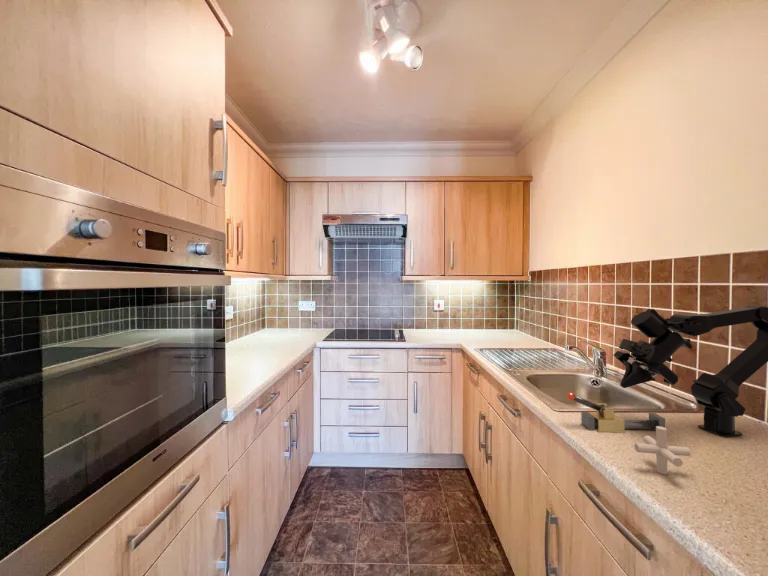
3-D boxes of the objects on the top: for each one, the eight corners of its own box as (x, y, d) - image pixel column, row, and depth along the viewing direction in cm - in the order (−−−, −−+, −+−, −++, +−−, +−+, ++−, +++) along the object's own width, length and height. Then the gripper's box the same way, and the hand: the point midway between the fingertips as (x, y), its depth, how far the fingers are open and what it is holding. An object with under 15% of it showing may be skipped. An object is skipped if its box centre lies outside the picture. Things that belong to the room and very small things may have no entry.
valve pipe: (652, 425, 93) (652, 403, 93) (667, 433, 88) (667, 411, 88) (580, 423, 96) (579, 402, 96) (590, 431, 90) (589, 409, 90)
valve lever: (608, 407, 93) (566, 389, 95) (614, 410, 91) (570, 392, 92) (605, 414, 93) (562, 397, 95) (610, 418, 91) (566, 400, 92)
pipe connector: (706, 488, 64) (705, 440, 64) (650, 483, 66) (650, 436, 66) (671, 461, 74) (671, 420, 74) (624, 457, 76) (624, 417, 76)
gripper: (618, 325, 100) (583, 360, 102) (664, 334, 82) (620, 376, 83) (646, 349, 99) (610, 384, 101) (698, 363, 81) (654, 406, 82)
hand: (621, 386), depth 92 cm, fingers closed
